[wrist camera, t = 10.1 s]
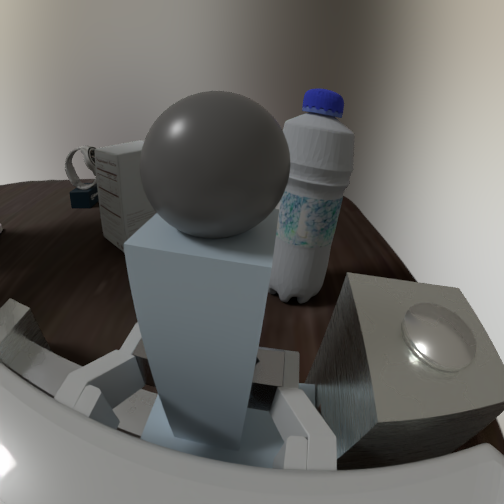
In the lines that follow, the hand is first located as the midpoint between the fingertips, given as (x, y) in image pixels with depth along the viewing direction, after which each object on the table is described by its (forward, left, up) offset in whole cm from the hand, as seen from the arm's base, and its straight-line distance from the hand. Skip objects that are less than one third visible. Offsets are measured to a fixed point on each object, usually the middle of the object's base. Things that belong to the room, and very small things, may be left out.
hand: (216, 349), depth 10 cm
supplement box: (-17, +23, -10) cm, 30 cm away
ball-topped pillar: (+1, -1, -9) cm, 9 cm away
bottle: (+4, +17, -10) cm, 20 cm away
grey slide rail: (-3, 0, -9) cm, 10 cm away
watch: (-34, +33, -10) cm, 48 cm away
